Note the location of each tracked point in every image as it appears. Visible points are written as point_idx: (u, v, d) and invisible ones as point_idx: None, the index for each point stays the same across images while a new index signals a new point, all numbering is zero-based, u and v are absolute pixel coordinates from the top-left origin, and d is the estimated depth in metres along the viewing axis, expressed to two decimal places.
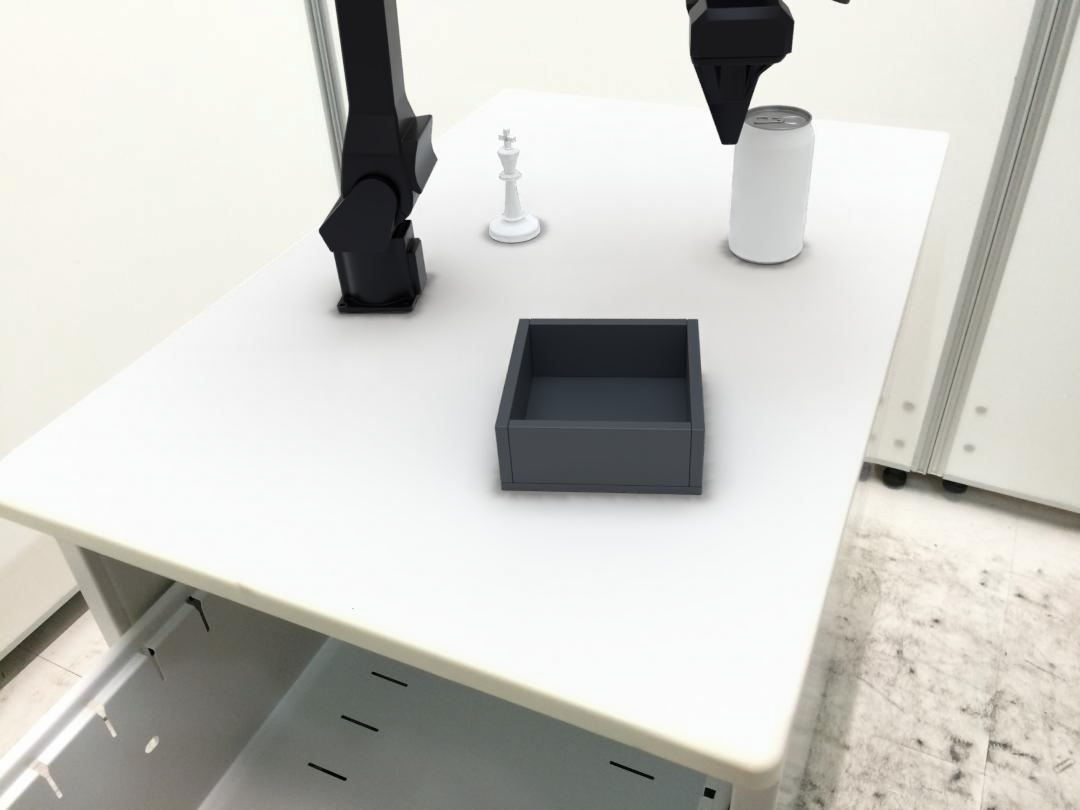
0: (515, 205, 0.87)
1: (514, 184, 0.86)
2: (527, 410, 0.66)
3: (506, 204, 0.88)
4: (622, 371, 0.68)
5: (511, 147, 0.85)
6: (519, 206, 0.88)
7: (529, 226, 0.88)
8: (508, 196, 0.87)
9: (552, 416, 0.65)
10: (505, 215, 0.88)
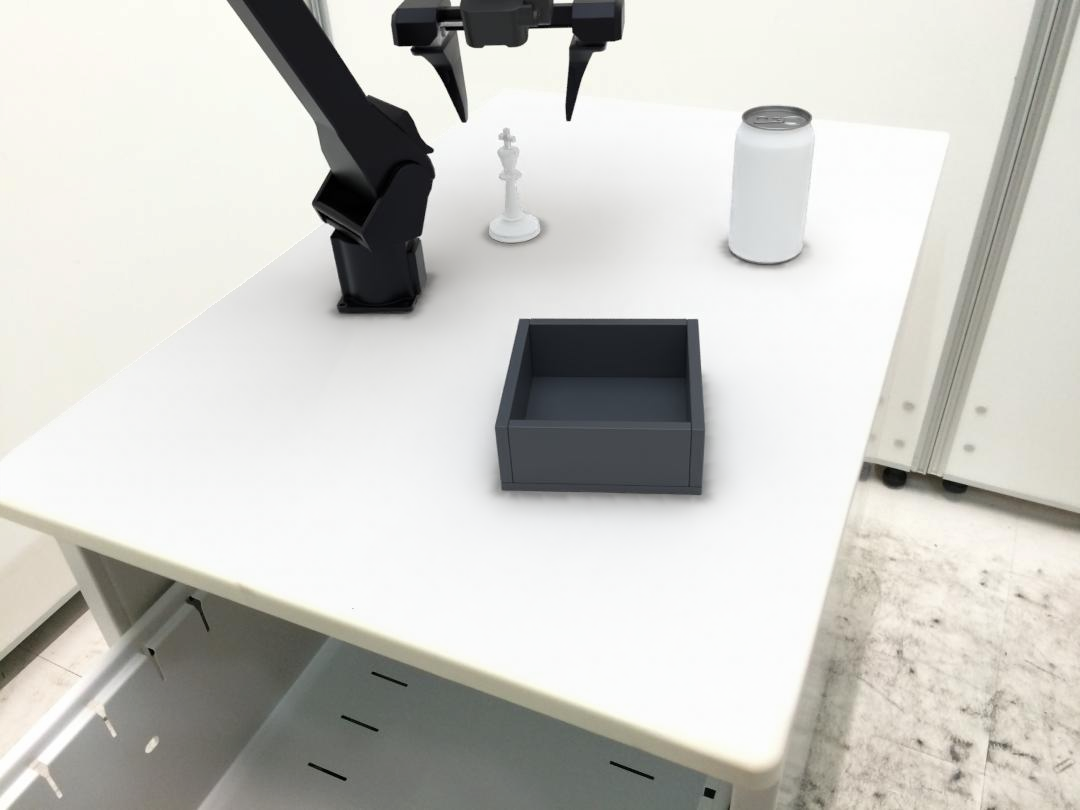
0: (515, 205, 0.87)
1: (514, 184, 0.86)
2: (527, 410, 0.66)
3: (506, 204, 0.88)
4: (622, 371, 0.68)
5: (511, 147, 0.85)
6: (519, 206, 0.88)
7: (529, 226, 0.88)
8: (508, 196, 0.87)
9: (552, 416, 0.65)
10: (505, 215, 0.88)
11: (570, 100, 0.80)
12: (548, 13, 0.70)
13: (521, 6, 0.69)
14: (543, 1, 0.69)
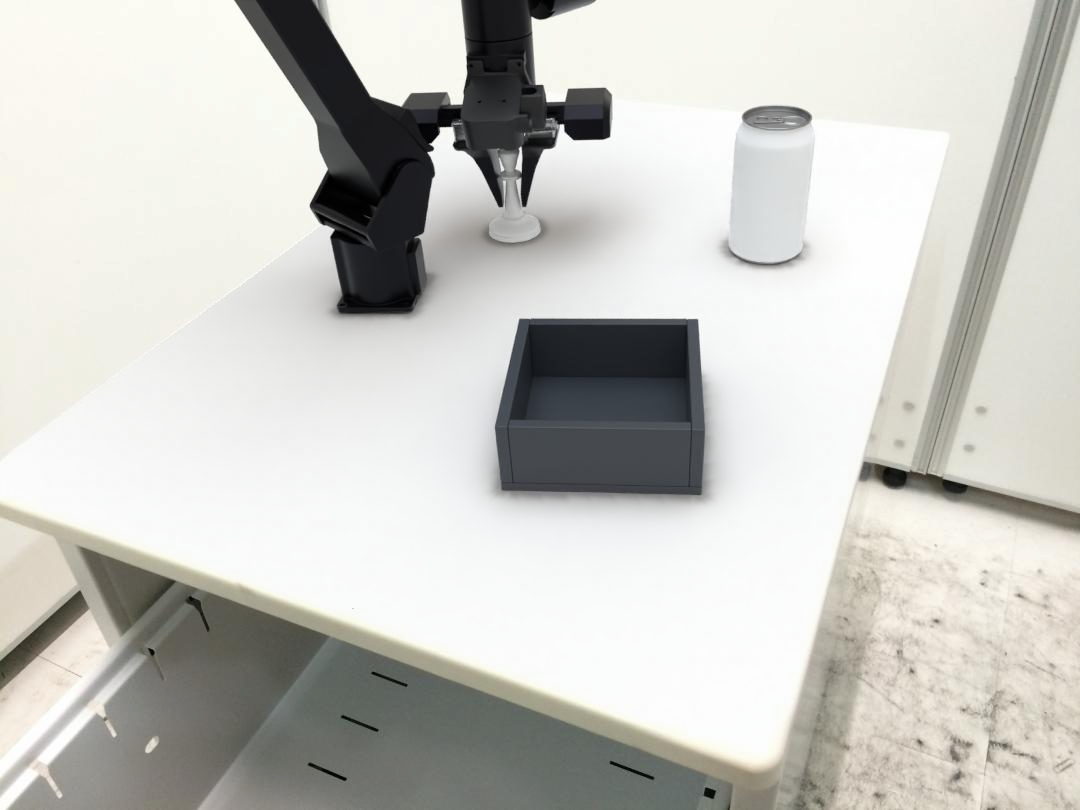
0: (515, 205, 0.87)
1: (514, 184, 0.87)
2: (527, 410, 0.66)
3: (506, 204, 0.88)
4: (622, 371, 0.68)
5: None
6: (520, 206, 0.88)
7: (529, 226, 0.88)
8: (508, 196, 0.87)
9: (552, 416, 0.65)
10: (505, 215, 0.88)
11: (525, 189, 0.86)
12: (542, 121, 0.76)
13: (517, 116, 0.75)
14: (538, 110, 0.75)
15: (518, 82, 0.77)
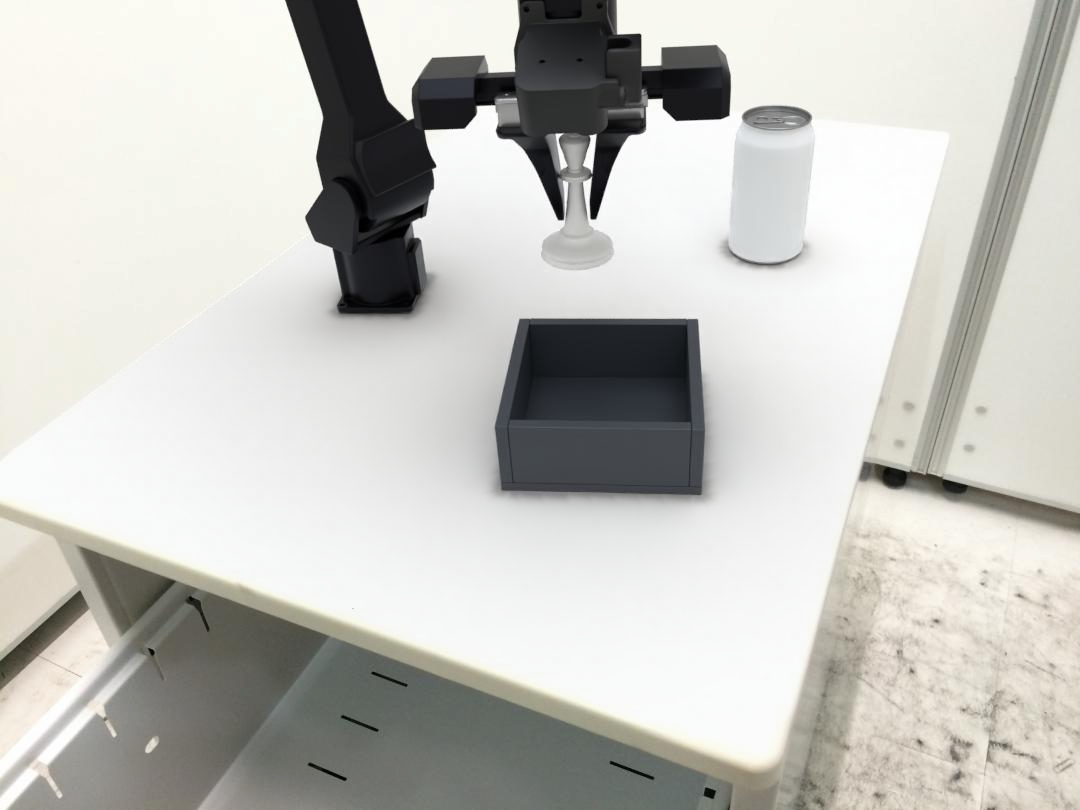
0: (581, 216, 0.61)
1: (581, 187, 0.61)
2: (527, 410, 0.66)
3: (568, 215, 0.62)
4: (622, 371, 0.68)
5: (579, 134, 0.59)
6: (587, 218, 0.62)
7: (599, 247, 0.62)
8: (572, 204, 0.61)
9: (552, 416, 0.65)
10: (566, 231, 0.62)
11: (596, 194, 0.60)
12: (639, 89, 0.50)
13: (603, 81, 0.49)
14: (633, 73, 0.49)
15: (599, 32, 0.51)
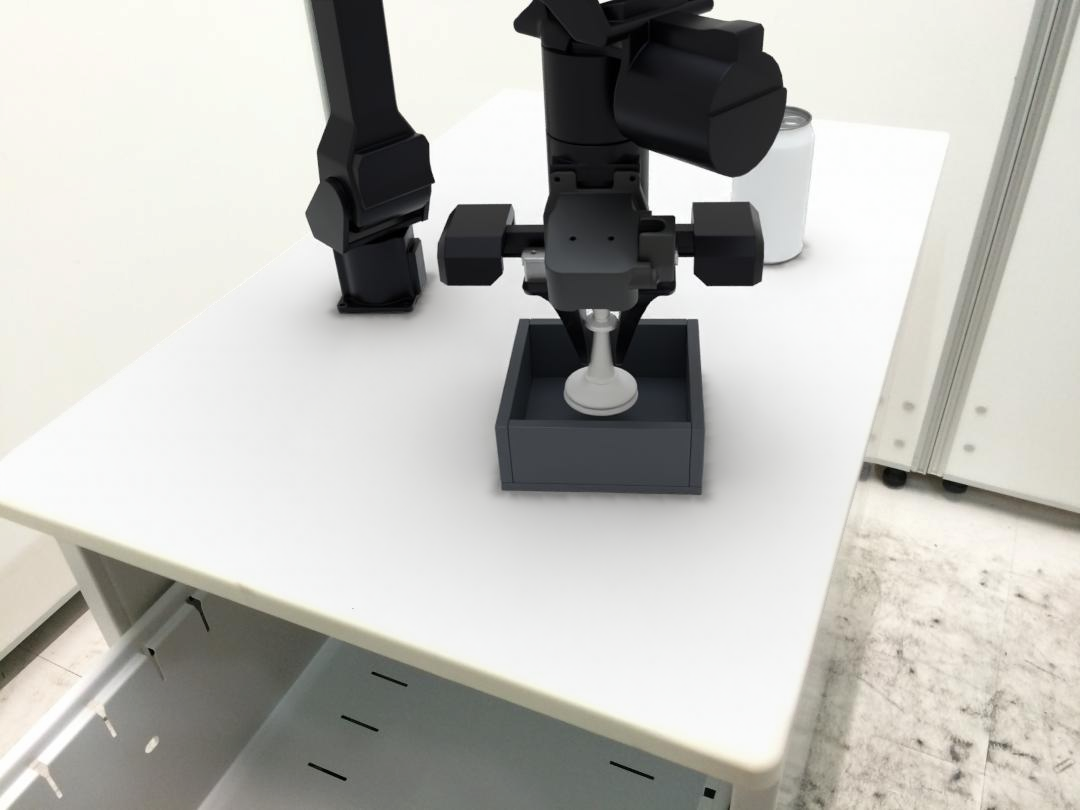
0: (606, 362, 0.60)
1: (607, 334, 0.59)
2: (527, 410, 0.66)
3: (593, 360, 0.60)
4: None
5: None
6: (612, 363, 0.61)
7: (624, 392, 0.61)
8: (597, 350, 0.60)
9: (552, 416, 0.65)
10: (590, 375, 0.61)
11: (622, 343, 0.59)
12: (672, 271, 0.48)
13: (635, 265, 0.48)
14: (666, 256, 0.48)
15: (631, 206, 0.50)
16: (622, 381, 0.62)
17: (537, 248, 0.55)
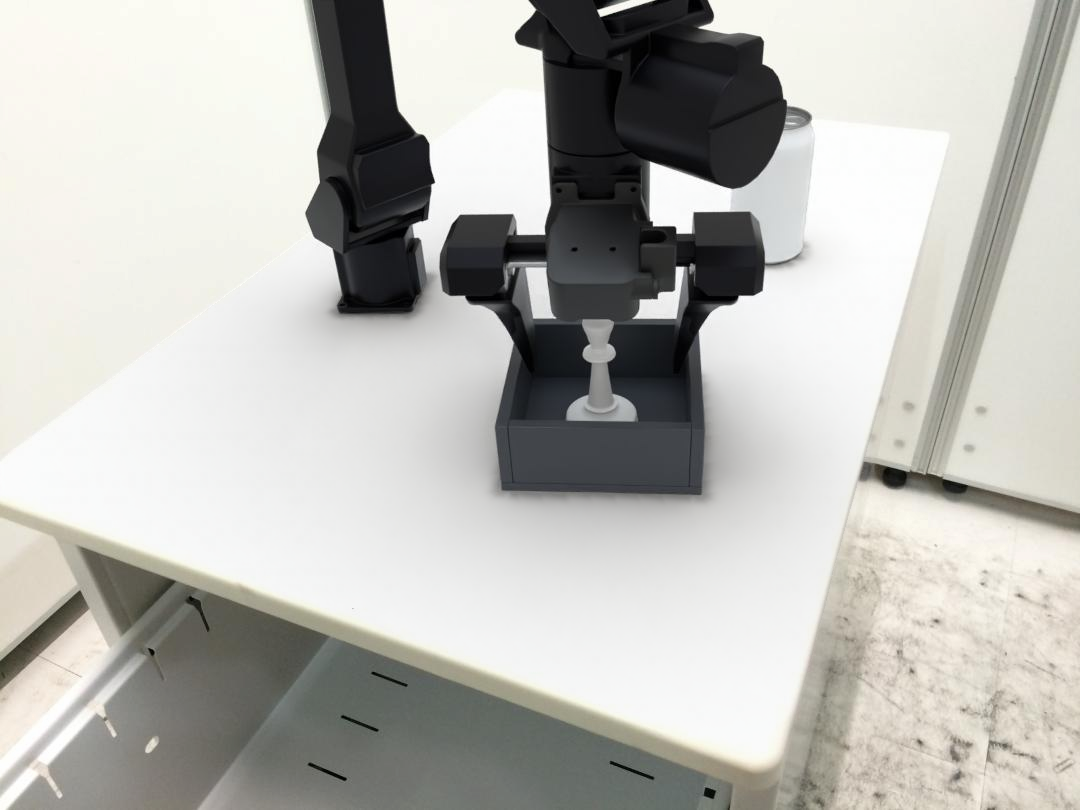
0: (605, 392, 0.62)
1: (604, 365, 0.61)
2: (527, 410, 0.66)
3: (592, 390, 0.62)
4: (622, 371, 0.68)
5: None
6: (611, 392, 0.62)
7: (623, 420, 0.62)
8: (595, 381, 0.61)
9: (552, 416, 0.65)
10: (590, 404, 0.63)
11: (681, 353, 0.59)
12: (673, 281, 0.49)
13: (637, 276, 0.48)
14: (668, 267, 0.48)
15: (632, 217, 0.50)
16: (622, 409, 0.63)
17: (539, 258, 0.55)
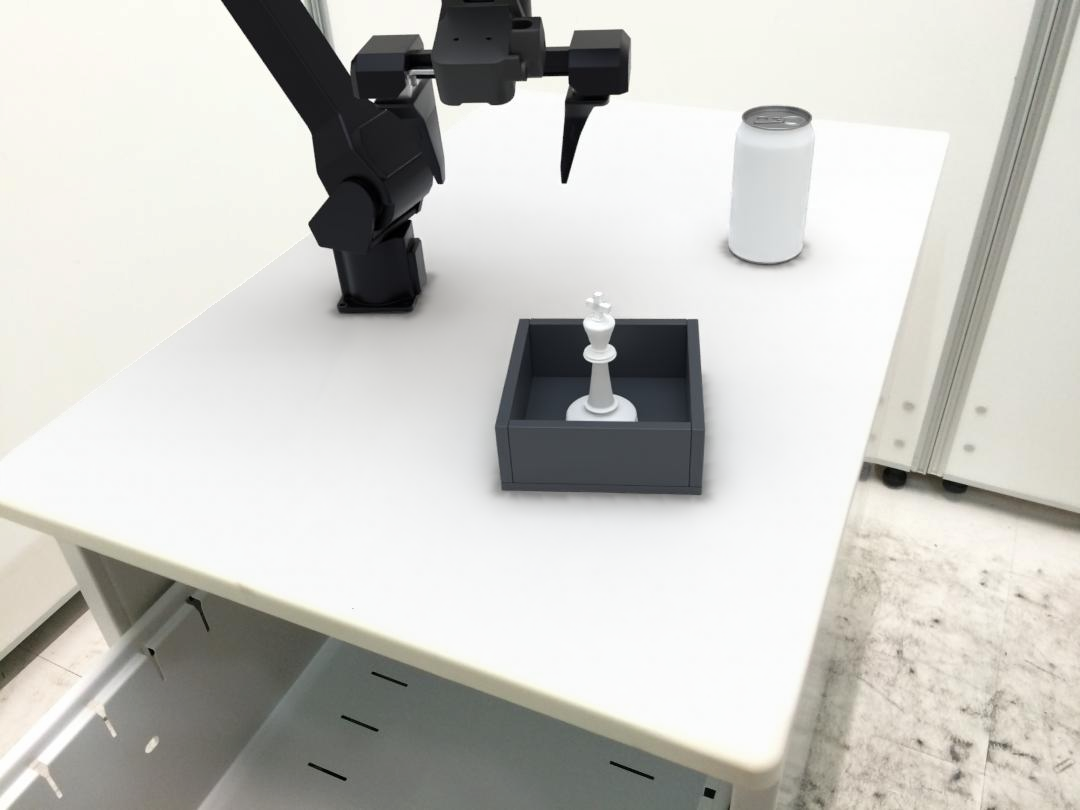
0: (605, 392, 0.62)
1: (605, 365, 0.61)
2: (527, 410, 0.66)
3: (592, 390, 0.62)
4: (622, 371, 0.68)
5: (604, 318, 0.59)
6: (611, 392, 0.62)
7: (624, 420, 0.62)
8: (596, 381, 0.61)
9: (552, 416, 0.65)
10: (590, 404, 0.63)
11: (566, 160, 0.67)
12: (539, 65, 0.57)
13: (506, 57, 0.56)
14: (533, 51, 0.56)
15: (508, 15, 0.58)
16: (622, 409, 0.63)
17: None
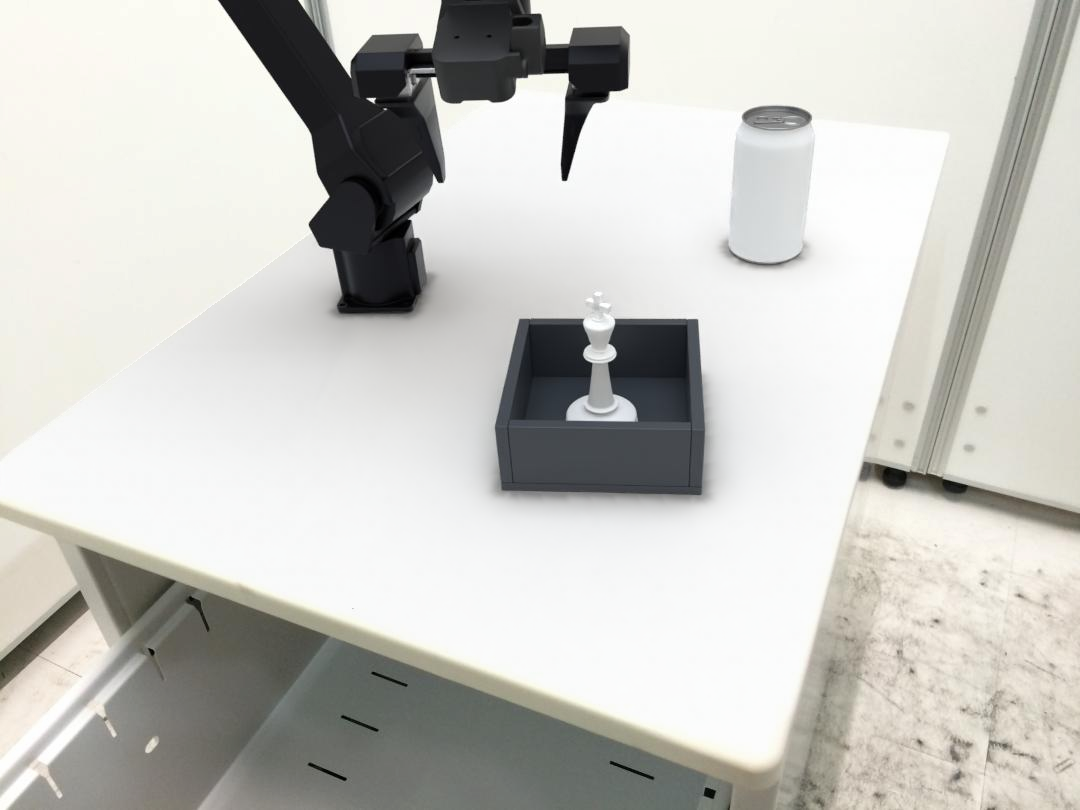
0: (605, 392, 0.62)
1: (605, 365, 0.61)
2: (527, 410, 0.66)
3: (592, 390, 0.62)
4: (622, 371, 0.68)
5: (604, 318, 0.59)
6: (611, 392, 0.62)
7: (624, 420, 0.62)
8: (596, 381, 0.61)
9: (552, 416, 0.65)
10: (590, 404, 0.63)
11: (566, 157, 0.67)
12: (540, 62, 0.57)
13: (507, 54, 0.56)
14: (534, 48, 0.56)
15: (508, 12, 0.58)
16: (622, 409, 0.63)
17: None
